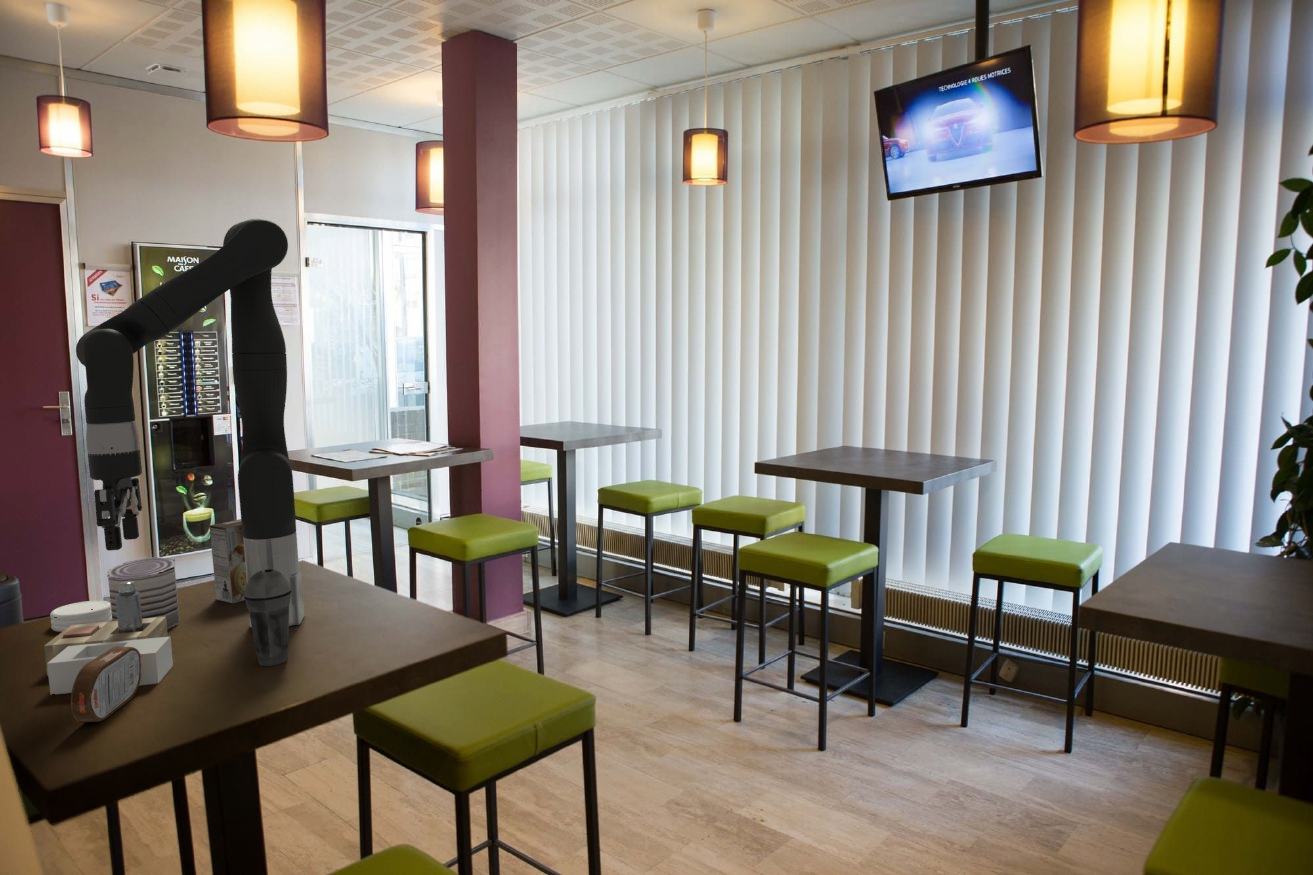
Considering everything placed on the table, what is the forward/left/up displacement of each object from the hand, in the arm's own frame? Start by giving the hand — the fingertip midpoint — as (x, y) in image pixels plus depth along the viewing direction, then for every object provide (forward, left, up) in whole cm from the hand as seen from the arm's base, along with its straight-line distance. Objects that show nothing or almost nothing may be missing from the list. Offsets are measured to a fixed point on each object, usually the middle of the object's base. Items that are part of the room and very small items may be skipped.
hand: (123, 544), depth 149 cm
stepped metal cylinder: (0, 0, -20) cm, 20 cm away
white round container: (+16, -24, -20) cm, 35 cm away
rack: (0, +11, -20) cm, 23 cm away
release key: (+8, 0, -19) cm, 20 cm away
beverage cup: (-24, +10, -20) cm, 33 cm away
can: (+3, -18, -20) cm, 27 cm away
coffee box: (-11, -34, -20) cm, 41 cm away
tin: (-4, +24, -20) cm, 32 cm away
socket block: (+4, 0, -20) cm, 20 cm away
